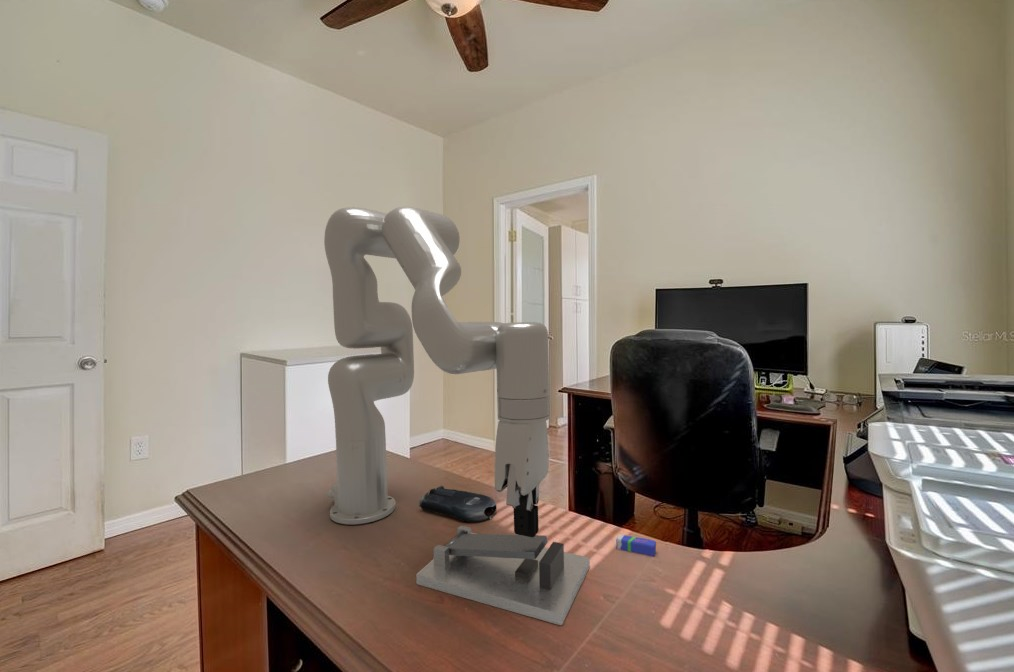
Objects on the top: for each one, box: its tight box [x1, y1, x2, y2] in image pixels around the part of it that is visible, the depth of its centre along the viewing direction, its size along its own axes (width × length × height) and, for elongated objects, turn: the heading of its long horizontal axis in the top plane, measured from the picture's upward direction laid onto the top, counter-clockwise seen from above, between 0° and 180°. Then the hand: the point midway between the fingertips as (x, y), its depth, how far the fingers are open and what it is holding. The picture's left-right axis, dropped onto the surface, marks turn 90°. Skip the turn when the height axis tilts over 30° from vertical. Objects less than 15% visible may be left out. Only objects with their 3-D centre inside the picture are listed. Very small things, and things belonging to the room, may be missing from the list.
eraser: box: [615, 533, 657, 557], centre depth 71 cm, size 2×6×2 cm, turn 63°
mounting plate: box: [415, 525, 591, 626], centre depth 65 cm, size 22×14×5 cm, turn 65°
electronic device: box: [418, 485, 497, 523], centre depth 88 cm, size 9×6×15 cm
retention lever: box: [443, 533, 548, 559], centre depth 66 cm, size 16×5×1 cm, turn 65°
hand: (526, 533), depth 63 cm, fingers closed
